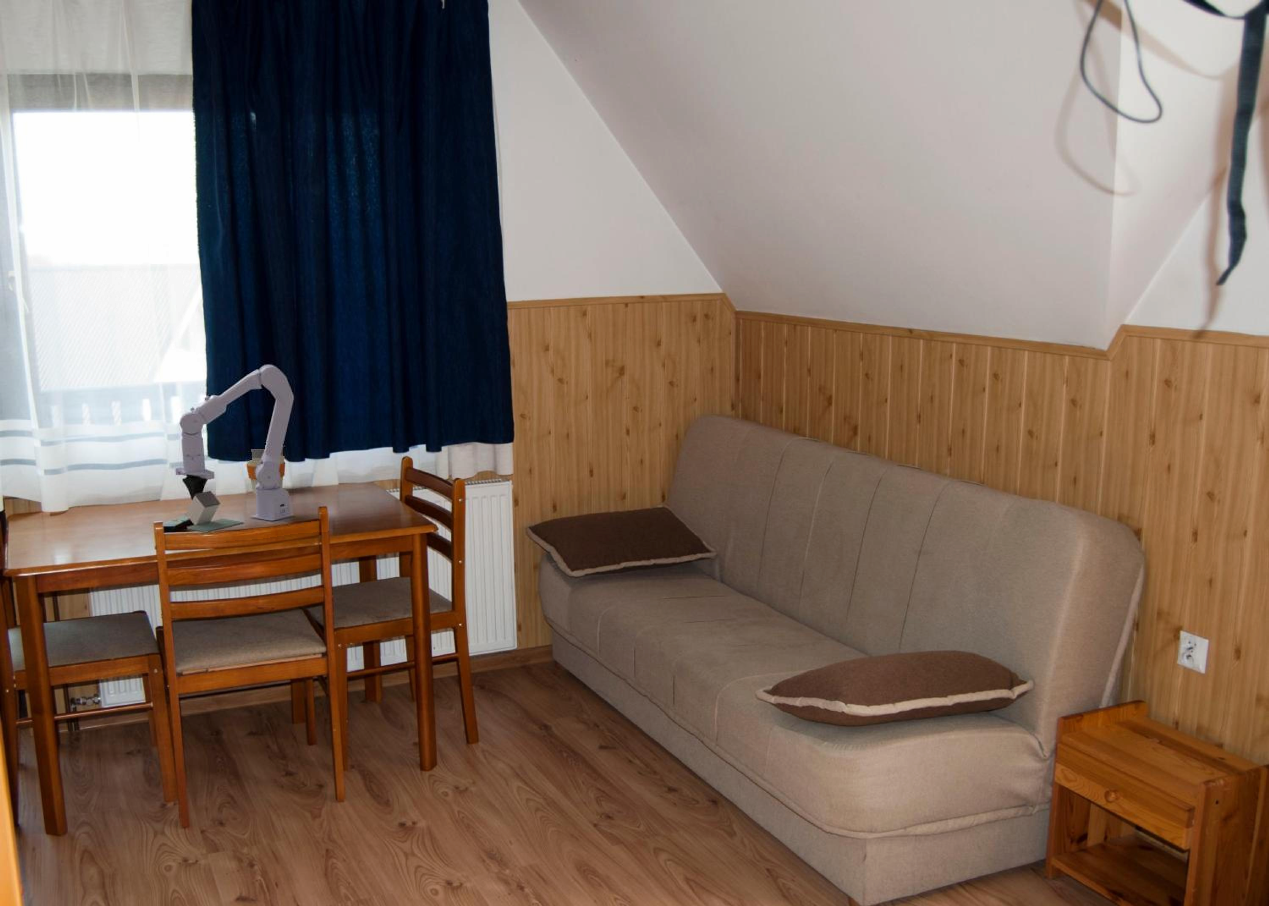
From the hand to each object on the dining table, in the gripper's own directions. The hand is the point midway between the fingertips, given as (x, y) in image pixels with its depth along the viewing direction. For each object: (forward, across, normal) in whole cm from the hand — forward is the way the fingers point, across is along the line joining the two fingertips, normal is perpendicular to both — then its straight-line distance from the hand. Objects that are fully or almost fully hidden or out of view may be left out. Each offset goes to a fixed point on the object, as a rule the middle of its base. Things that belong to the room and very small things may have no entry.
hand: (196, 501), depth 330 cm
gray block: (+5, 0, 0) cm, 5 cm away
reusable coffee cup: (+6, -19, +41) cm, 46 cm away
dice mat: (+6, +7, 0) cm, 9 cm away
